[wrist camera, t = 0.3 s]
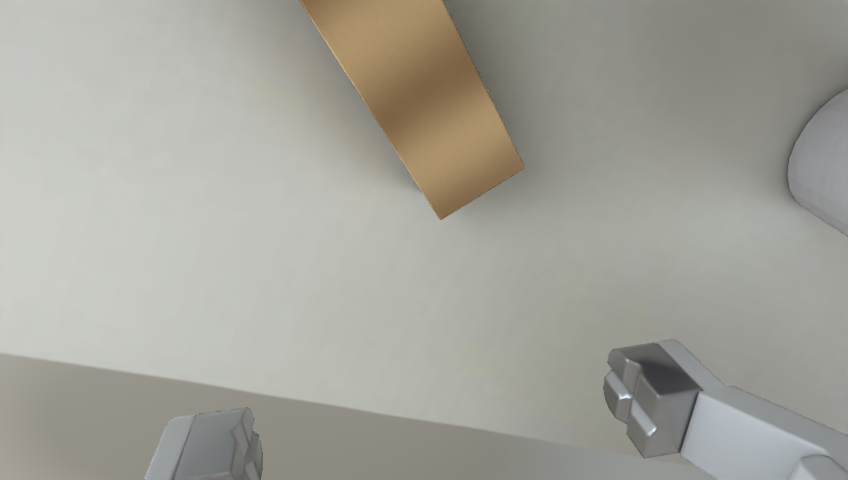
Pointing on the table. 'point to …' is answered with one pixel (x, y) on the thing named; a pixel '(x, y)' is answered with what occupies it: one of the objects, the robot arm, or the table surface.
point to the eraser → (421, 94)
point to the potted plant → (823, 164)
